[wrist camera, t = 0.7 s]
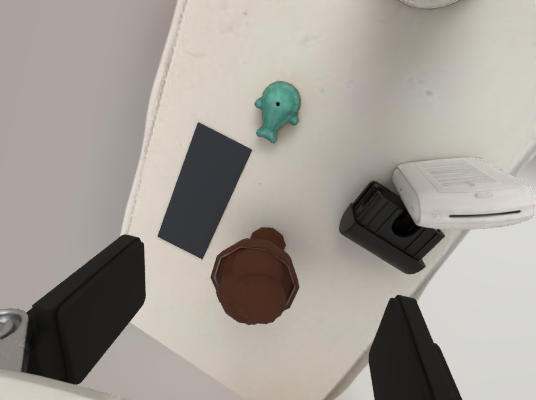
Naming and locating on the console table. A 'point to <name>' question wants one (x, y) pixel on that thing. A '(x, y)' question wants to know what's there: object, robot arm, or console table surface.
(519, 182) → the photo printer
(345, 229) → the end cap
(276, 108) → the whale figurine
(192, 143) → the plate
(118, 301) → the robot arm
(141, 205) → the console table surface
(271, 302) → the ice cream bowl
